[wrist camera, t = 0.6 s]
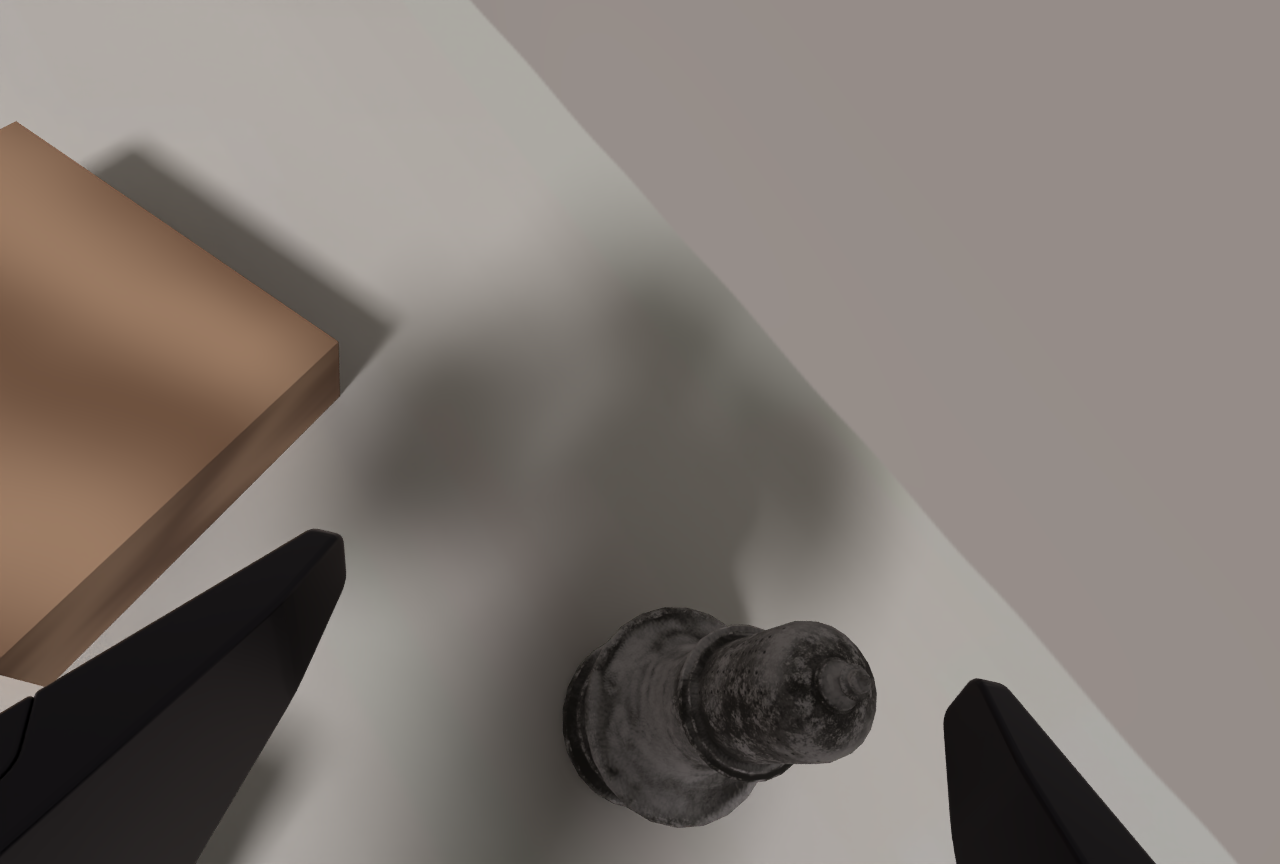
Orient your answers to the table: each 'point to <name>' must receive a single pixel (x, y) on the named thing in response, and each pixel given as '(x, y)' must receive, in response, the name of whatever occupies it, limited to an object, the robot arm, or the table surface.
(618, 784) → the dark grey tall piece
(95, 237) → the walnut block
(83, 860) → the robot arm
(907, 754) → the table surface
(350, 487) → the table surface
